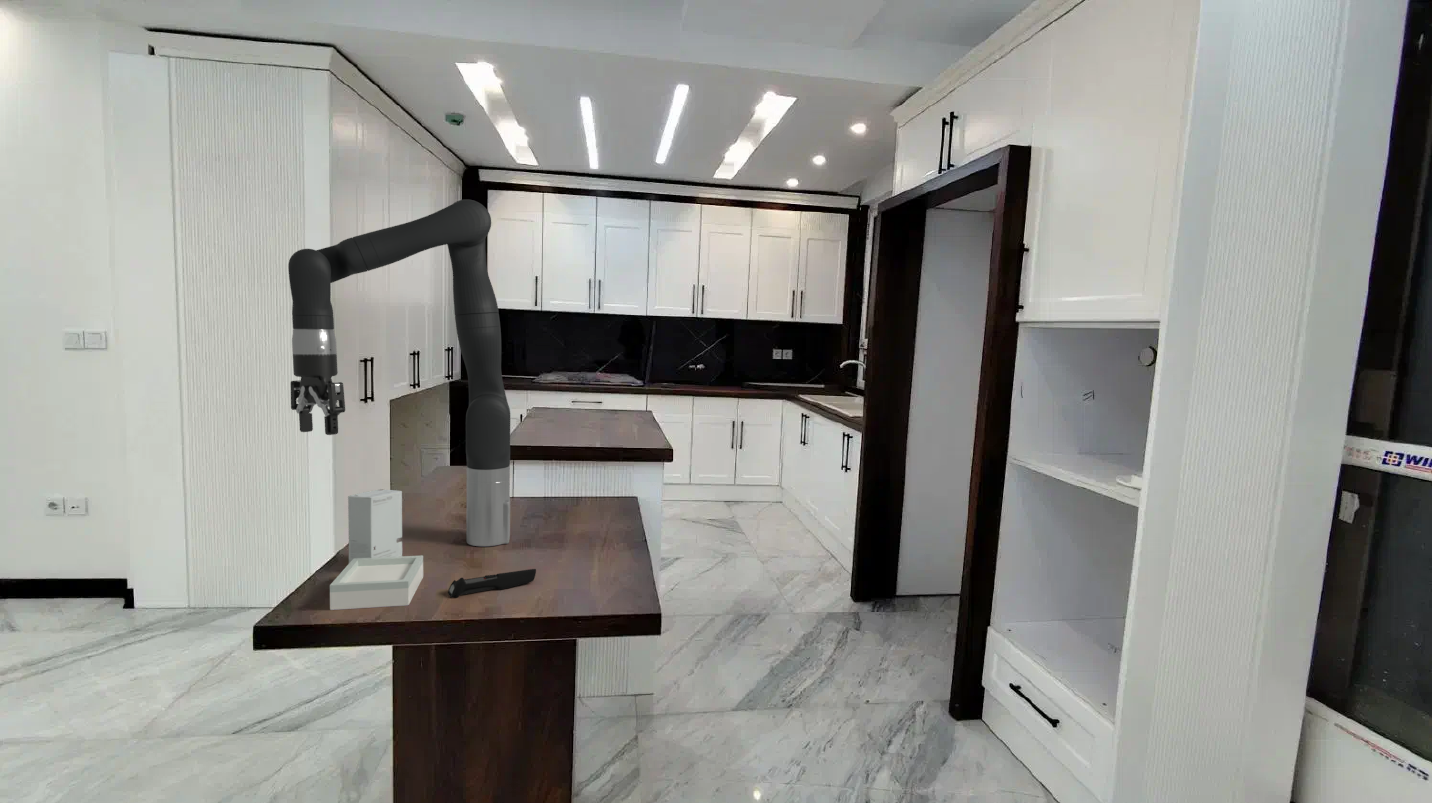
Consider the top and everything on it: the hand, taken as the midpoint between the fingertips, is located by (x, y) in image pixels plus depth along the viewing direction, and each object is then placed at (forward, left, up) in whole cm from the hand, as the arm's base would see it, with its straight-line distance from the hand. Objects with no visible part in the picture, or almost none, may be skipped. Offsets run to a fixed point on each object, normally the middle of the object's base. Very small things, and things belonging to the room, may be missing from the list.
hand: (318, 433), depth 133 cm
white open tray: (-16, +22, -26) cm, 37 cm away
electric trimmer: (-35, +23, -26) cm, 49 cm away
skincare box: (-12, +7, -26) cm, 29 cm away
